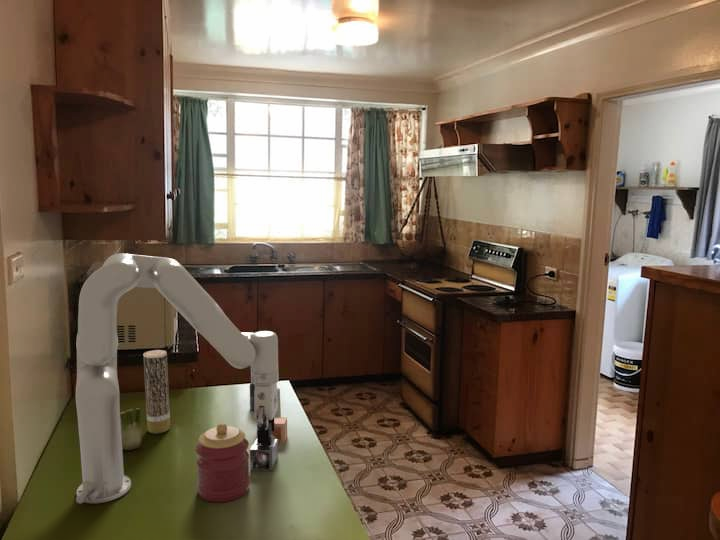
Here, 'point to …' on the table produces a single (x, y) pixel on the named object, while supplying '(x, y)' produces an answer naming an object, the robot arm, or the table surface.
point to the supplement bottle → (252, 396)
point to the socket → (280, 429)
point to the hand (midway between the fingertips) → (266, 436)
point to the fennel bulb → (131, 429)
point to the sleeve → (256, 448)
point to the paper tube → (156, 391)
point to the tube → (263, 457)
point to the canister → (222, 464)
